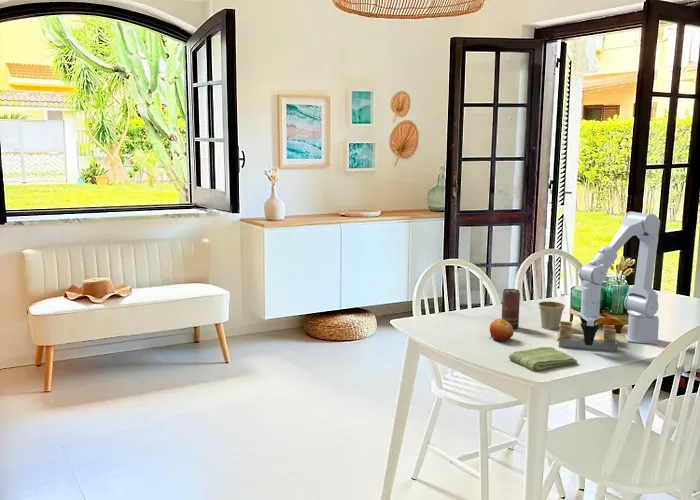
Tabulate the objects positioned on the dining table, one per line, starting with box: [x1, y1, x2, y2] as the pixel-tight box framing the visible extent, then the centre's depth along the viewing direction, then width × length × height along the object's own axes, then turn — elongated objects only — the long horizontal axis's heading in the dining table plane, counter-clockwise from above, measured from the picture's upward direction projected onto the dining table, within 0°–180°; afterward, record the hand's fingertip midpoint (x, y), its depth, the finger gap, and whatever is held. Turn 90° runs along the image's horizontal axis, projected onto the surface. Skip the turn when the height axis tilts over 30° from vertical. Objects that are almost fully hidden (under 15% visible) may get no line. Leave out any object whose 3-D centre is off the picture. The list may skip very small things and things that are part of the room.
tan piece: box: [556, 320, 618, 342], centre depth 222 cm, size 19×8×5 cm, turn 72°
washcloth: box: [508, 346, 578, 372], centre depth 201 cm, size 13×18×3 cm
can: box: [501, 288, 521, 331], centre depth 237 cm, size 6×6×14 cm
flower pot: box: [537, 300, 566, 330], centre depth 238 cm, size 9×9×9 cm
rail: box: [558, 337, 619, 353], centre depth 214 cm, size 18×3×3 cm, turn 74°
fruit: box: [489, 318, 514, 342], centre depth 224 cm, size 8×8×8 cm
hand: (588, 341), depth 214 cm, fingers open, 7 cm apart
